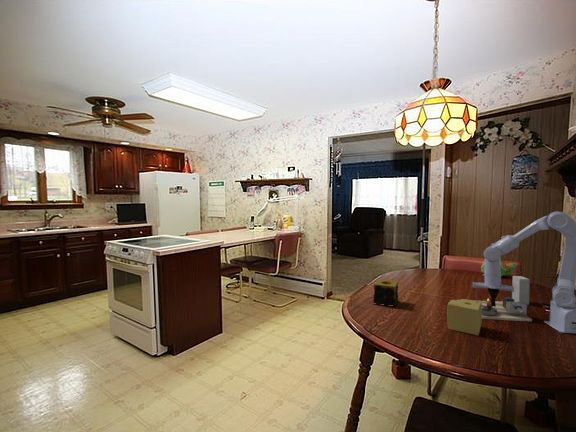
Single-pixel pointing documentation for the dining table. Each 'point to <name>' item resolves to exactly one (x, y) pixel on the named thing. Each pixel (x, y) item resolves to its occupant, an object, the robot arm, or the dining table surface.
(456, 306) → the cheese
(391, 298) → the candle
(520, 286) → the skincare box
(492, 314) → the handwheel
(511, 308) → the block
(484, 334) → the dining table surface
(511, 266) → the turtle holder
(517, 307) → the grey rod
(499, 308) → the board
